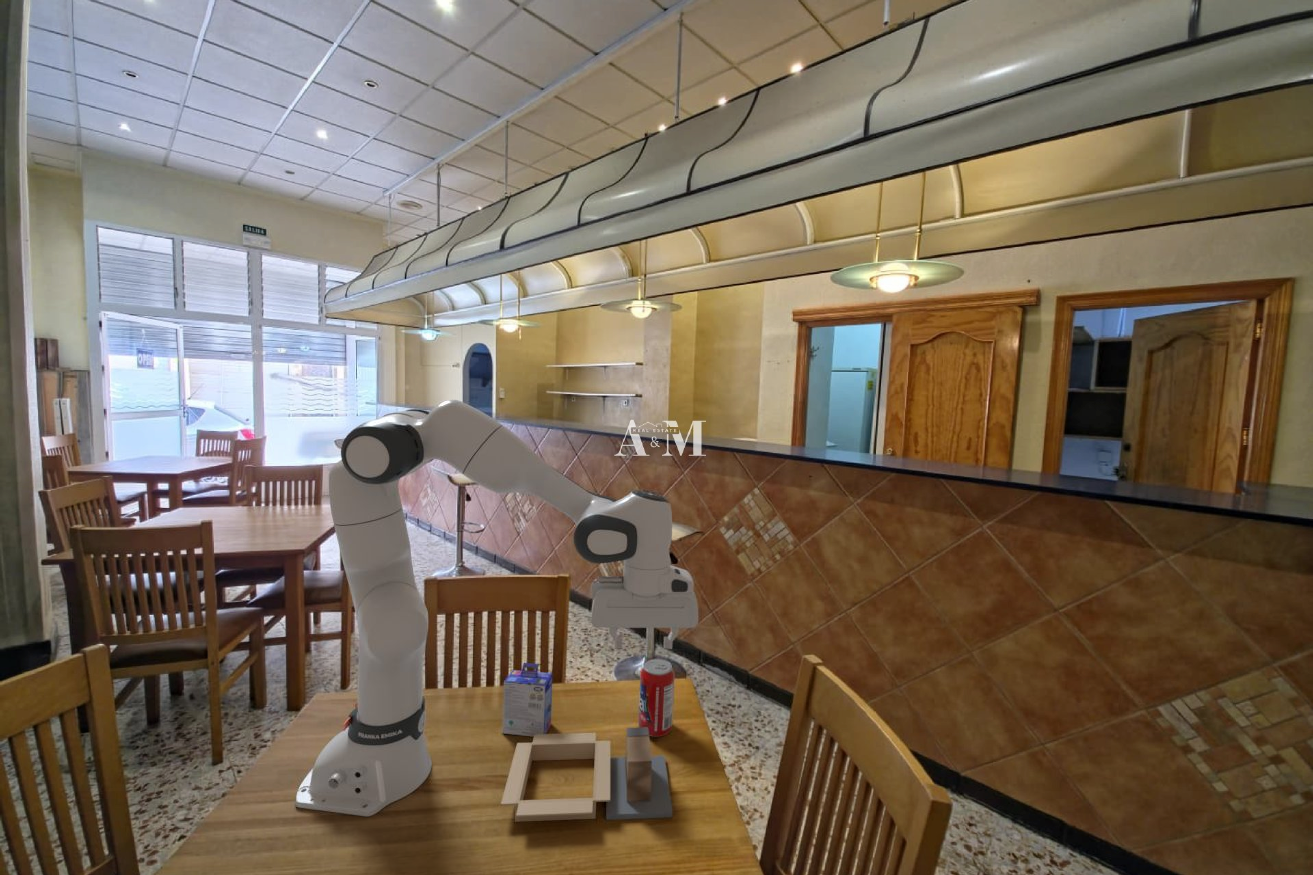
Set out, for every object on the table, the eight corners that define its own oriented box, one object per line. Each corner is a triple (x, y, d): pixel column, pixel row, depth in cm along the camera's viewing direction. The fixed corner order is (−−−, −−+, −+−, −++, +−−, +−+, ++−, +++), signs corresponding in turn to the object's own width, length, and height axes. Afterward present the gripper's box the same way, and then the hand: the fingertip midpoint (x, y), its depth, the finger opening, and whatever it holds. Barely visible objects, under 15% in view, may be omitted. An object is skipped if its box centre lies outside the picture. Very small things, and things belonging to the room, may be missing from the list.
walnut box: (626, 802, 91) (628, 760, 90) (625, 765, 100) (626, 727, 99) (650, 801, 91) (651, 760, 90) (646, 764, 100) (648, 727, 99)
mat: (606, 819, 88) (606, 814, 88) (606, 761, 102) (607, 757, 102) (672, 816, 89) (672, 811, 89) (664, 759, 103) (664, 755, 103)
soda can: (669, 742, 108) (672, 677, 107) (635, 737, 109) (637, 673, 108) (674, 719, 116) (676, 659, 115) (641, 714, 117) (644, 654, 116)
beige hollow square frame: (497, 834, 84) (497, 815, 84) (519, 750, 104) (519, 734, 104) (609, 829, 86) (610, 811, 86) (609, 747, 106) (610, 732, 106)
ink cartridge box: (552, 722, 113) (554, 662, 112) (544, 739, 108) (546, 676, 107) (511, 718, 114) (512, 658, 113) (501, 734, 109) (502, 672, 107)
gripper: (589, 582, 88) (587, 656, 89) (702, 583, 90) (698, 656, 91) (591, 570, 94) (588, 639, 95) (696, 571, 96) (692, 639, 97)
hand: (643, 647), depth 93 cm, fingers open, 8 cm apart
